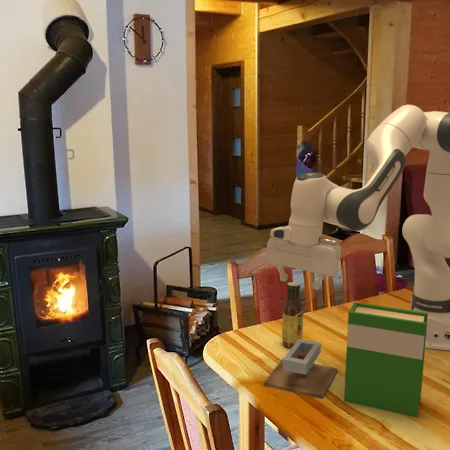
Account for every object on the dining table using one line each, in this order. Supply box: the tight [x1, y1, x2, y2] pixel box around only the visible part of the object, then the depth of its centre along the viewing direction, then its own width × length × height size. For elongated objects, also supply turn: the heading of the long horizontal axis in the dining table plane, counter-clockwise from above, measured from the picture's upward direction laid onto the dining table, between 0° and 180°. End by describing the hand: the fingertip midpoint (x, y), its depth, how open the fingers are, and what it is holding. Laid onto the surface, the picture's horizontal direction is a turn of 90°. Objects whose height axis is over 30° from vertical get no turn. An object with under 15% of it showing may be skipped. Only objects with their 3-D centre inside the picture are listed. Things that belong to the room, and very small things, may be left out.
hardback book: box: [343, 301, 428, 418], centre depth 135 cm, size 18×7×24 cm, turn 66°
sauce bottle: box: [281, 281, 304, 349], centre depth 167 cm, size 6×6×20 cm
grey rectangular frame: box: [282, 338, 322, 375], centre depth 148 cm, size 14×6×3 cm, turn 155°
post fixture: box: [263, 352, 338, 400], centre depth 148 cm, size 16×16×7 cm
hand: (299, 284), depth 146 cm, fingers open, 8 cm apart
